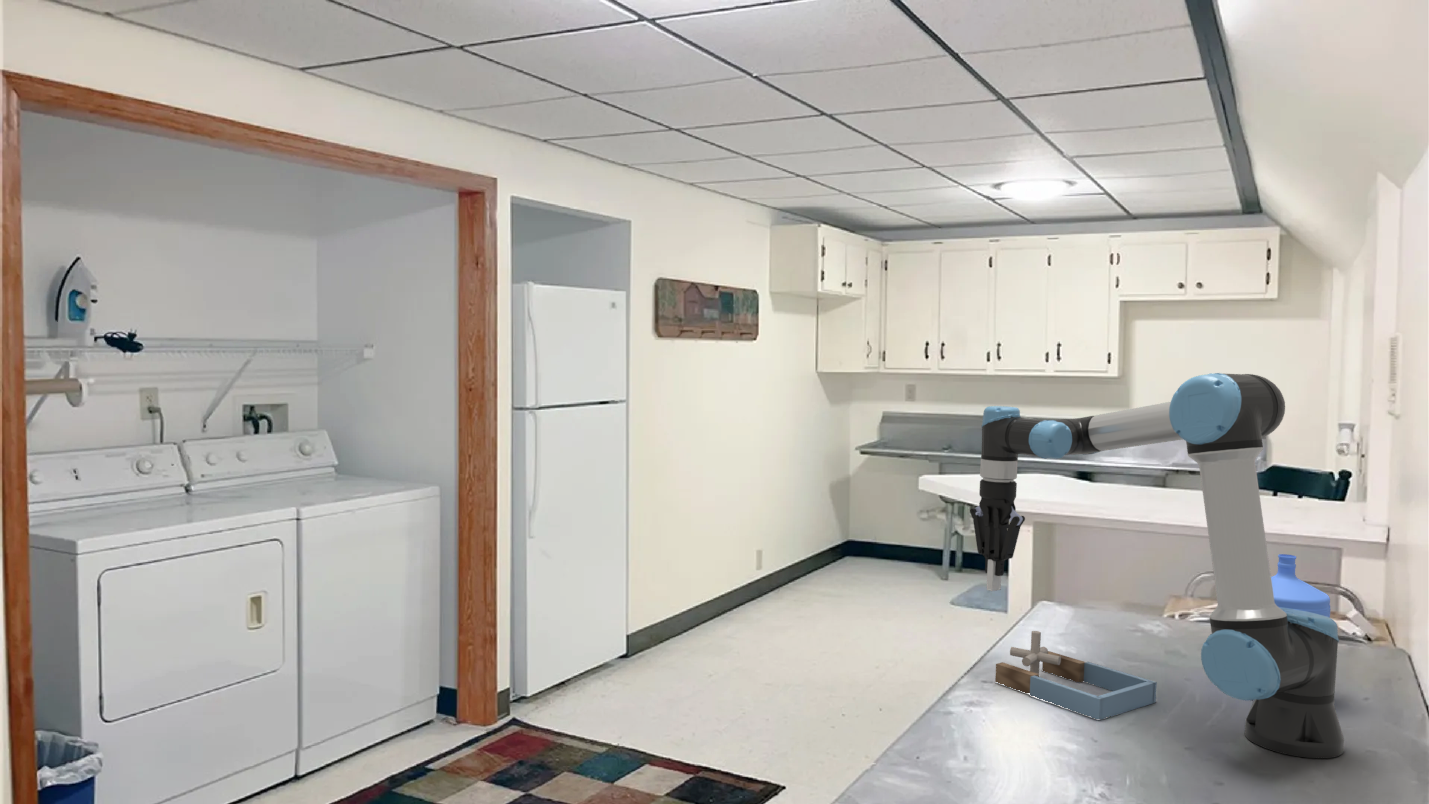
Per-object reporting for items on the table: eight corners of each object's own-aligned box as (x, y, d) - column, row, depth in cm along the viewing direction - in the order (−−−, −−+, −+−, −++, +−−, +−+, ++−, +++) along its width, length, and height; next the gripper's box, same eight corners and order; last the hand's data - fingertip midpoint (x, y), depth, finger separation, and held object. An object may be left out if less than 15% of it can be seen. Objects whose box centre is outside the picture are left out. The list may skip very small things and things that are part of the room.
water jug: (1338, 712, 197) (1346, 566, 196) (1249, 704, 201) (1256, 561, 199) (1308, 686, 213) (1316, 550, 211) (1226, 679, 216) (1232, 546, 214)
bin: (1155, 702, 200) (1156, 682, 200) (1098, 720, 190) (1099, 699, 190) (1087, 680, 213) (1088, 661, 213) (1029, 696, 202) (1030, 676, 202)
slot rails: (1085, 681, 212) (1085, 662, 212) (1031, 696, 203) (1032, 675, 202) (1048, 669, 220) (1048, 651, 220) (995, 683, 210) (995, 663, 210)
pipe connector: (1049, 691, 205) (1051, 641, 205) (1001, 681, 211) (1003, 632, 211) (1066, 679, 213) (1068, 631, 213) (1019, 669, 219) (1021, 622, 219)
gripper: (1035, 482, 216) (1030, 594, 218) (985, 474, 227) (981, 581, 228) (1011, 484, 212) (1006, 598, 213) (962, 476, 222) (958, 585, 224)
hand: (993, 589), depth 221 cm, fingers closed
